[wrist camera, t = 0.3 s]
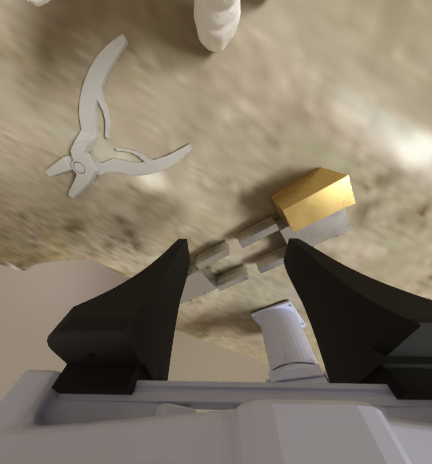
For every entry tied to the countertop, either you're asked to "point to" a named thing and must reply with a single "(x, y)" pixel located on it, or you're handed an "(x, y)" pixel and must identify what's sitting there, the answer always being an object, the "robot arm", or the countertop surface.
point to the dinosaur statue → (208, 21)
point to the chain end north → (210, 273)
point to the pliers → (88, 136)
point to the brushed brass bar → (313, 198)
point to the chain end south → (292, 235)
